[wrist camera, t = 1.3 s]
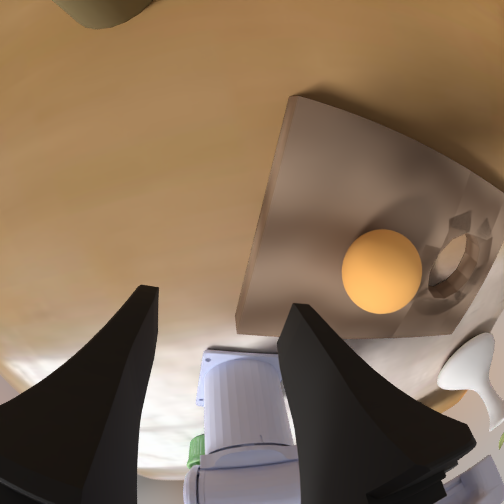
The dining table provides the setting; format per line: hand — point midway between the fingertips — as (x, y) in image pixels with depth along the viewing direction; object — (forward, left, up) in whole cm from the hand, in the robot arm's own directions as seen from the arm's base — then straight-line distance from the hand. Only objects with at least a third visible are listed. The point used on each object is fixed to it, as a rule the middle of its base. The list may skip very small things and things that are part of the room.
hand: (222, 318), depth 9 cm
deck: (0, -14, -9) cm, 17 cm away
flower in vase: (-14, -38, -10) cm, 42 cm away
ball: (0, -10, -5) cm, 11 cm away
